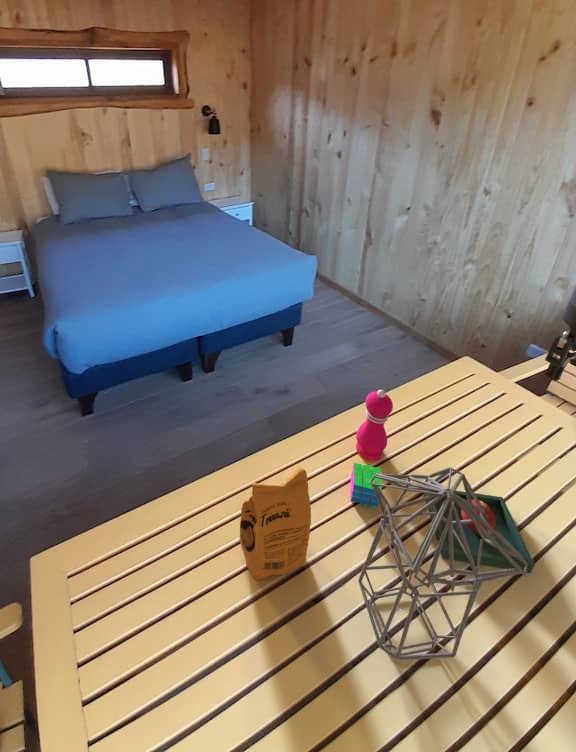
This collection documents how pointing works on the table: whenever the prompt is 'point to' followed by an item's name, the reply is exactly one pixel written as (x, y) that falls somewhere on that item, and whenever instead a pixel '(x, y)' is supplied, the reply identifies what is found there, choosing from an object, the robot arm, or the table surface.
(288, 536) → the coffee package
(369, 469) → the puzzle toy
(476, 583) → the geometric lantern
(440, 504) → the tray
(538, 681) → the table surface
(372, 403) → the pepper mill
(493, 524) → the onion
